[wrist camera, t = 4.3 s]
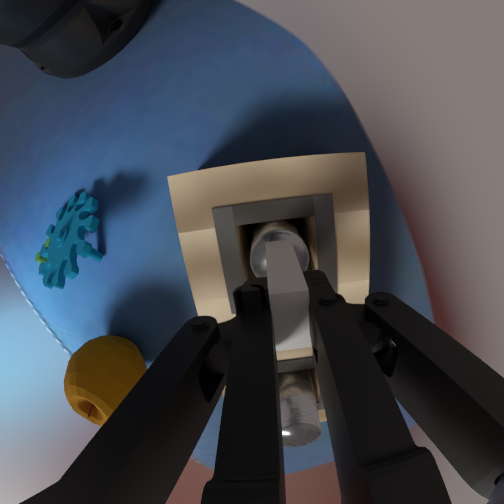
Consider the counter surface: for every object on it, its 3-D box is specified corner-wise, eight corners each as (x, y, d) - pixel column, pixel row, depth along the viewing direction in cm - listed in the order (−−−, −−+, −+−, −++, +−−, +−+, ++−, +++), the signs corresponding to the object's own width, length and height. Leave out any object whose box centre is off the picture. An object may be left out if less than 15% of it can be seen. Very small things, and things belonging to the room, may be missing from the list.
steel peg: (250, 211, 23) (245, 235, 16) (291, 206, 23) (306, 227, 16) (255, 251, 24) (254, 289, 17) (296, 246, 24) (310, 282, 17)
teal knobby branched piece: (98, 172, 21) (77, 272, 17) (136, 202, 27) (128, 294, 22) (42, 213, 24) (24, 294, 20) (76, 233, 29) (66, 309, 25)
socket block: (196, 170, 23) (166, 176, 15) (331, 153, 22) (365, 152, 14) (239, 377, 31) (234, 430, 23) (337, 366, 30) (353, 416, 22)
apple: (106, 371, 32) (71, 431, 21) (83, 315, 29) (32, 372, 18) (167, 380, 32) (142, 452, 20) (149, 320, 28) (106, 394, 17)
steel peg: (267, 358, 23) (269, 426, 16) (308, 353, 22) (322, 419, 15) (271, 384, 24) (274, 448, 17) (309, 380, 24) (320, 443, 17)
